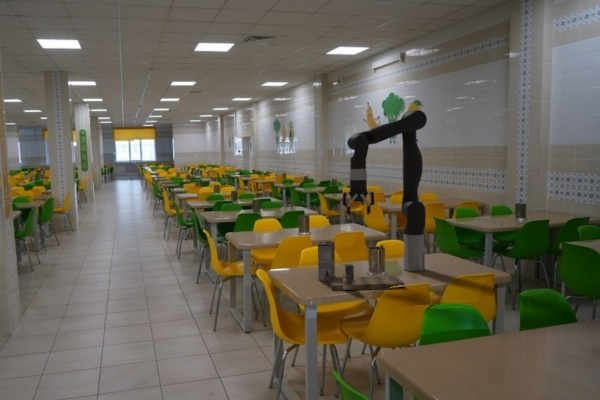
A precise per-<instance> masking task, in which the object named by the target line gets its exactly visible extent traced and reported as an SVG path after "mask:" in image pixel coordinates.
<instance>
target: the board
mask: <svg viewBox="0 0 600 400" xmlns="http://www.w3.org/2000/svg"><path fill="white" fill-rule="evenodd" d="M354 279H356V289H354V290H378V289H380V290H384V289H385V290H386V289H387V288H390V287H393V286H398V285H404V286H405V282H404V281H402V280H401V278H399V277H398V275H374V276H372V275H371V276H354ZM327 282H328V284H329V287H330V288H331V291H345V290H344V289H343V276H338V277H336V276H335V277H329V278H328V281H327ZM390 289H391V288H390ZM387 290H388V289H387Z"/></svg>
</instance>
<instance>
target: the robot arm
mask: <svg viewBox="0 0 600 400" xmlns="http://www.w3.org/2000/svg"><path fill="white" fill-rule="evenodd" d="M427 121H428V118H427V115H426V114H425V112H424V111H422V110H419V109H415V110H409V111H408V110H407V111H405V112H404V113H403V114H402V116H401V117H400V119H398V120H395V121H392V122H386V123H384V124H380V125H378V126H375V127H372V128H370V129H367V130H365V131H362V132H358V133H355V134H352V135H350V136H349V138H348V139H347V147H348V148H349V149H350V150H352V151H354V152H353V155H352V156H351V157H350V160H349V161H350V162H349V163H350V167H349V168H350V170H349V192H347V191H343V192H342V205H343V206H345V207H346V214H347V215H348V216H351V205H352V204H353V202H355V203H356V202H364V203H365V205H366V215H367V216H369V215H370V214H371V206H374V205H375V203H376V202H375V193H374V191H372V190H371V191H368V188H367V180H368V176H367V175H368V173H367V156H368V153H369V146H371V145H377V144H378V143H381V142H383V141H385V140H388V139H391V138H393V137H396V136H399V135H401V138H402V201H401V212H402V213H401V214H402V215H403V217H405V218H406V225H405V226H404V228H403V270H405V271H407V272H421V271H425V268H426V267H425V264H426V262H425V261H426V260H425V259H426V256H425V255H426V253H425V252H426V251H425V249H424V235H425V234H424V231H425V228H426V214H427V212H426V206H425V204H424V203H423V202H421V201H419V198H418V197H419V194H418V193H419V192H418V191H419V186H420V182H421V179H422V176H423V170H424V169H423V164H424V163H423V161H424V160H423V155H422V153H421V150H420V147H419V145H418V143H417V131H419V130H421V129H423V128H425V126H426V124H427ZM348 196H349V197H350V198H349V200H348V202H347V197H348ZM367 196H368V197H370V202H369V201H368V199H367Z"/></svg>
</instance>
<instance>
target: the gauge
mask: <svg viewBox="0 0 600 400" xmlns="http://www.w3.org/2000/svg"><path fill="white" fill-rule="evenodd" d="M344 266H345V267H344V272H345V273H344V274H342V277H343V289H344V290H343V291H346V290H348V291H349V290H354V289H355V290H357V289H356V279H354V277H355V276H354V274H355V273H354V272H355V271H354V270H355V269H354V268H355V267H354V264H353V263H349V264H348V263H347V264H346V263H345V264H344Z"/></svg>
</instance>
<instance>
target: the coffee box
mask: <svg viewBox="0 0 600 400" xmlns="http://www.w3.org/2000/svg"><path fill="white" fill-rule="evenodd" d="M335 253H336V251H335V241H321V242H319V244H317V266H318V267H317V268H318V269H317V270H318V271H317V273H318V275H317V277H318V281H327V282H328V278H329V277H336V271H335V270H336V267H335V265H336V264H335V262H336V261H335V258H336V256H335Z"/></svg>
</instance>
